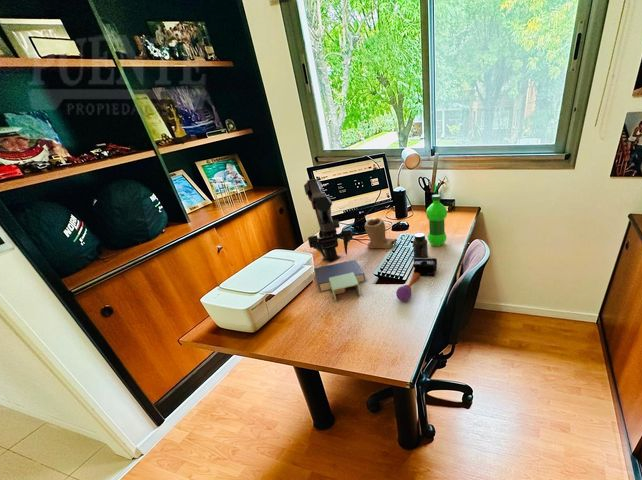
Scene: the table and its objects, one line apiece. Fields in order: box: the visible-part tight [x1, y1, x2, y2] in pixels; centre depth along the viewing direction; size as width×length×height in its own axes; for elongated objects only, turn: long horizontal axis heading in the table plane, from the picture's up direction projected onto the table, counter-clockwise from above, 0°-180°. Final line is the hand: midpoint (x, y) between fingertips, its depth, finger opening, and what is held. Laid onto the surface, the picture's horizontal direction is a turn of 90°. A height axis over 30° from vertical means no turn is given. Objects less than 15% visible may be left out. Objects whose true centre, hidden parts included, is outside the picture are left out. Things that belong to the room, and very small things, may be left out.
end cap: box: [412, 257, 438, 278], centre depth 145 cm, size 10×7×7 cm
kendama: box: [395, 272, 421, 302], centre depth 133 cm, size 6×6×20 cm
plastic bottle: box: [425, 194, 448, 247], centre depth 164 cm, size 10×10×25 cm
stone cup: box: [364, 217, 398, 249], centre depth 170 cm, size 15×12×15 cm
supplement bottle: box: [412, 232, 429, 259], centre depth 156 cm, size 7×7×12 cm
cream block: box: [335, 288, 346, 295], centre depth 138 cm, size 4×4×4 cm
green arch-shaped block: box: [329, 272, 361, 302], centre depth 136 cm, size 6×11×10 cm
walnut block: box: [345, 286, 356, 293], centre depth 139 cm, size 4×4×4 cm
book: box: [313, 259, 366, 293], centre depth 147 cm, size 16×20×4 cm
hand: (336, 256), depth 138 cm, fingers open, 9 cm apart
